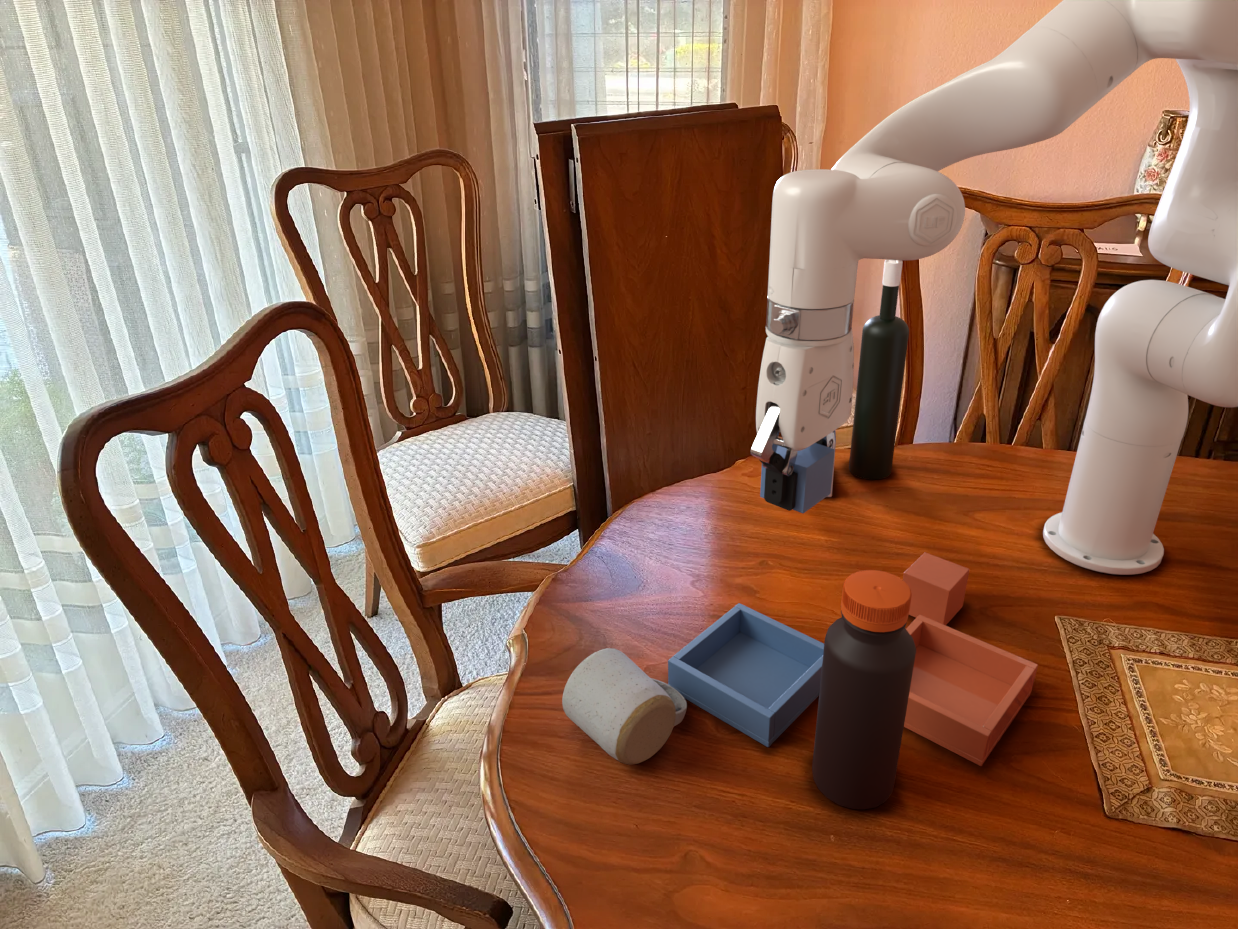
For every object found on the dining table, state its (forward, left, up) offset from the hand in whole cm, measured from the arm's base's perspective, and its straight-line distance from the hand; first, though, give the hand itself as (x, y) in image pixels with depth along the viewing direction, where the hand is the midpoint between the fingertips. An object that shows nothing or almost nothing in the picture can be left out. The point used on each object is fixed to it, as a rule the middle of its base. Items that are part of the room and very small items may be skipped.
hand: (795, 491), depth 85 cm
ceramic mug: (+23, -2, -16) cm, 28 cm away
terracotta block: (-11, +11, -16) cm, 22 cm away
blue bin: (+11, +3, -16) cm, 19 cm away
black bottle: (+15, +16, -16) cm, 27 cm away
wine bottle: (-35, -9, -16) cm, 40 cm away
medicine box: (-27, -13, -16) cm, 34 cm away
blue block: (0, 0, 0) cm, 0 cm away
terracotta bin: (+1, +18, -16) cm, 24 cm away
